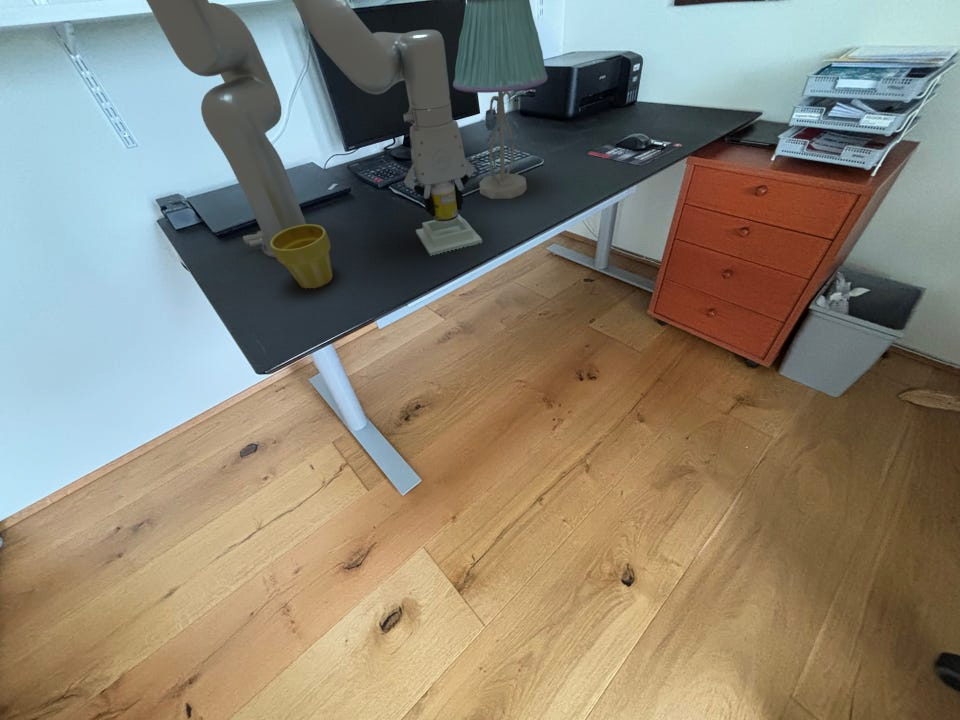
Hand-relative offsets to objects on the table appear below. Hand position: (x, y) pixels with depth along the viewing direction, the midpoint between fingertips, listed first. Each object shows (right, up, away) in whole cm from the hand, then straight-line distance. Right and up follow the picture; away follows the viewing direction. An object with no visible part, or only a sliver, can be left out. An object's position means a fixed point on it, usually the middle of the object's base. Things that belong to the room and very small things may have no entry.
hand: (444, 210), depth 87 cm
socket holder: (0, -5, +4) cm, 6 cm away
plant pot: (-26, -16, -5) cm, 31 cm away
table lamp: (+14, +14, +22) cm, 30 cm away
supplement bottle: (0, -2, +1) cm, 2 cm away
